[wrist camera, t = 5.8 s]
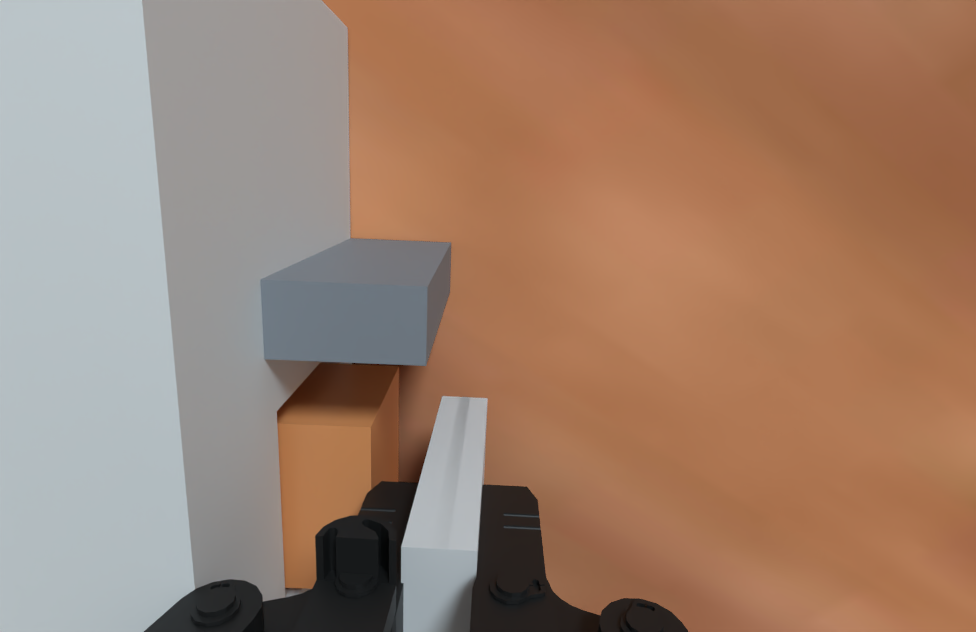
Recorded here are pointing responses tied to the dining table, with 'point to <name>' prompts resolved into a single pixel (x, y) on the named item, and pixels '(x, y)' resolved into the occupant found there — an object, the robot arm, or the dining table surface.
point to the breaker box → (173, 293)
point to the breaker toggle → (333, 453)
